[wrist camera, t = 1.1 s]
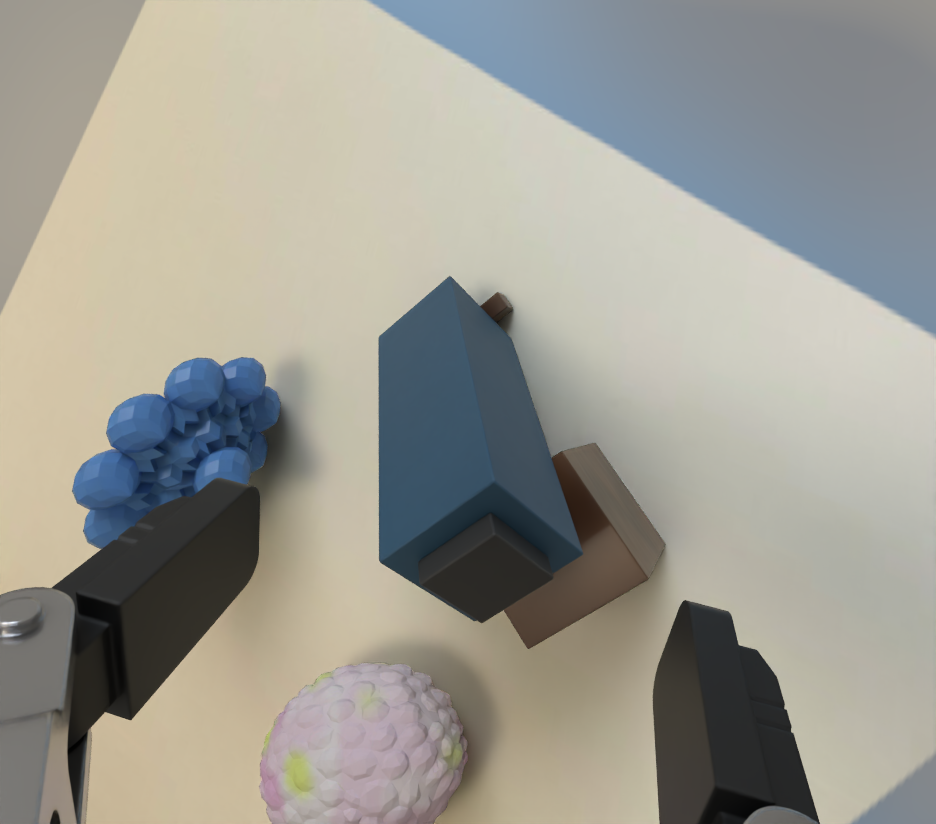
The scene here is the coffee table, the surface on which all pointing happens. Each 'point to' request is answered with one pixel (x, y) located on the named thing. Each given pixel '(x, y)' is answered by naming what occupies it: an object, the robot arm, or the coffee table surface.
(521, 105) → the coffee table surface
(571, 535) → the steel blue prism
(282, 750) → the decorative item
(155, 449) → the grapes
